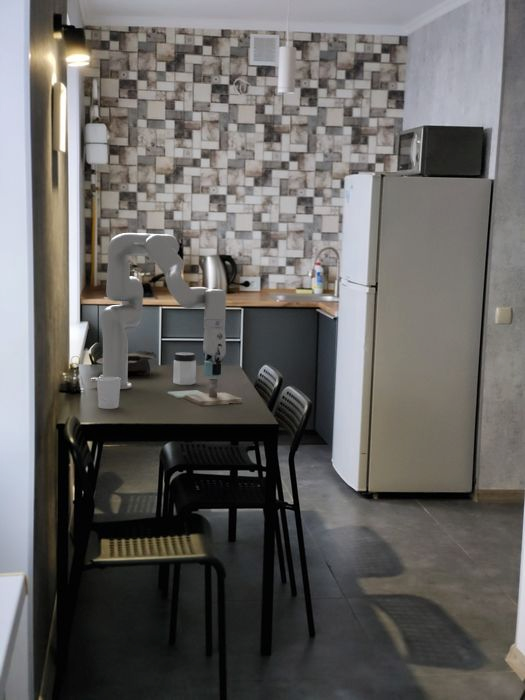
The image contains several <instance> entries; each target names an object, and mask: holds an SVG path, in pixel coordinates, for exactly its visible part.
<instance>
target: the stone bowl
mask: <svg viewBox="0 0 525 700" xmlns="http://www.w3.org/2000/svg"><path fill="white" fill-rule="evenodd" d="M156 358H158V356H157V355H156V353H155V352H154V351H153V352H149V351H144V350H143V351H142V350H139V351H134V352H130V353H128V372H130V371H132V372H131V373H134V374H136V375H140V376H147V375H149V373H150V372H151V364H150V362H149V360H153V359H156ZM96 363H98V364H101V365H103V357H101V358H99V359H97V360H96Z"/></svg>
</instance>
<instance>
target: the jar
mask: <svg viewBox="0 0 525 700" xmlns="http://www.w3.org/2000/svg"><path fill="white" fill-rule="evenodd" d="M172 370H173V377H172V378H173V379H172V381H173V384H175V385H179V386H191V385H195V384H196V382H197V381H196V380H197V360H196V354H195V353H194V352H186V351H184V352H183V351H181V352H176V353H174V360H173V369H172Z"/></svg>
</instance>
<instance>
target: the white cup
mask: <svg viewBox="0 0 525 700" xmlns="http://www.w3.org/2000/svg"><path fill="white" fill-rule="evenodd" d="M98 377H99V378H98ZM98 377H96V378H97V383H96V384H97V385H96V386H97V387H96V389H97V399H98V402H97V403H98V408H99V409H103V410H104V409H105V410H112V409H117V408H119V407H120V406H119V404H120V394H121V393H120V391H121V389H120V378H118V377H100V376H98Z"/></svg>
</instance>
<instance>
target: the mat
mask: <svg viewBox="0 0 525 700" xmlns="http://www.w3.org/2000/svg"><path fill="white" fill-rule="evenodd" d="M204 393H205V392H202V391H200V390H198V389H196V390H195V389H194V390H191V389H190V390H177V391H167V394H168V395H171V396H172V397H174V398H177V399H185V395H188V394H204Z"/></svg>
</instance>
